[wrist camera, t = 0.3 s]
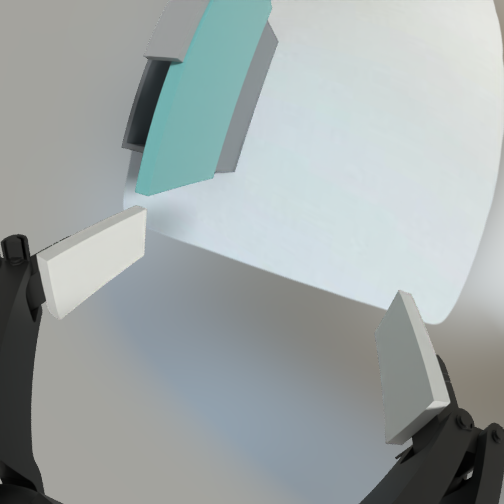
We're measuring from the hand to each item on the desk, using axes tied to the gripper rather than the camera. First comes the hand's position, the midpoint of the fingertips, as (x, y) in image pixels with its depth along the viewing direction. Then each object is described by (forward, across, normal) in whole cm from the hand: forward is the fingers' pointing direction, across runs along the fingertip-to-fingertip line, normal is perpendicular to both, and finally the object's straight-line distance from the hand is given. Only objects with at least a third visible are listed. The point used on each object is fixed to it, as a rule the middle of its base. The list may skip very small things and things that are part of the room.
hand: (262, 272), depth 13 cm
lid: (+11, -11, +12) cm, 19 cm away
